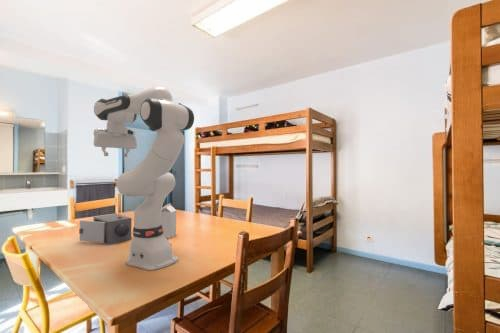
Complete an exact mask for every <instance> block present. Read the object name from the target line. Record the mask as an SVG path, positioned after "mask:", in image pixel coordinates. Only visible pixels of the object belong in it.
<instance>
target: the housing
mask: <svg viewBox="0 0 500 333" xmlns="http://www.w3.org/2000/svg"><path fill="white" fill-rule="evenodd" d="M132 220H133V219H132V217H129V216H125V215H122V214H120V213H119V214H118V213H112V214H111V213H110V214H102V215H97V216H95V215H94V216H93V221H96V222H106V243H104V244H105V245H108V246H109V245H113V244H118V243H121V242H125V241H130V240H131V241H132Z"/></svg>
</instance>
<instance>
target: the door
mask: <svg viewBox="0 0 500 333" xmlns="http://www.w3.org/2000/svg"><path fill="white" fill-rule="evenodd" d="M78 230H79V232H78V234H79V241H81V242H89V243H90V242H91V243H103V244H105V243H106V222H96V221H94V220H79V229H78Z"/></svg>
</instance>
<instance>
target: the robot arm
mask: <svg viewBox="0 0 500 333" xmlns="http://www.w3.org/2000/svg"><path fill="white" fill-rule="evenodd" d="M93 113H94V115H95V116H96V117H97V119H98V120H100V121H106V129H105V128H96V129H94V131H93V146H94V147H97V148H101V151H102V153H103V156H104V157H109V152H107V150H106V149H107V148H111V149H112V148H113V149H125V153H122V154H123V158H128V154H129V153H130V151H131V150H134V149H136V148H137V146H138V145H137V143H138V142H137V138H136V136H135V135H136V132H135V131H134V130H132V129H130V128H128V127H126V125H127V124H132V123H134V122H135V121H136V120H137V115H139V116H140V118H141V120H142V121H143V123H144V124H145V125H146V126H147V127H148V129H149V131H151V132H156V133H157V134H156V137H155V140H154V141H153V142H152V143H153V144H151V145H152V146H151V147H150V149H149V151H148V153H147V154H146V156H145V158H144V159H143V160H141V162H140V163H139V164H137V165H136V166H135V167H133V168H131V169H130V170H128V171H125V172H122V173H121V174H120V175H119V176H118V177H117V181H116V189H117V191H118V192H119V194H120V195H121V196H125V197H134V198H136V197H145V196H146V197H145V199H144V201H143V202H142V203H140V204H139V205H137V206H136V207H135V210H134V213H133V214H134V215H133V216H134V217H133V218H134V220H133V221H134V223H133V224H134V225H133V227H132V237H133V238H131V241H130V242H129V252H128V259H126V260H125V264H126V265H129V266H132V267H136V268H138V269H139V268H140V269H143V270H146V271H155V270H159V269H162V268H166V267H168V266H171V265H173V264H175V263H177V262H178V261H179V257H178V256H176V255H175V254H174V253H173V244H172V242H169V241H168V238H165V237H164V235H163V230H164V229H163V228H162V225H161V211H162V209H163V207H164V206H163V205H164V203H165V200H166V198H167V197H168V195H169V194H170V193H171V192H172V191H173V190H174V189H175V187H176V178H175V175H174V174H172V172H170V171H171V170H172V168H173V166H174V164H175V163H176V161H177V159H178V157H179V156H180V153H181V151H182V149H183V145H184V144H185V136H184V133H183V132H182V131H188V130H190V129H192V127H193V125H194V122H195V114H194V112H193V110H192V109H191V108H190V107H188V106H186V105H184V104H182V103H180V102H179V103H176V102H174V101H173V96H172V94H171V92H170V91H169V90H168V89H167V88H165V87H163V86H156V87H155V86H154V87H151V88H148V89H144V90H142V91H139V92H135V93H131V94H125V95H119V96H115V97H112V98H109V99H105V98H101V99H99V100H97V101H96V102H95V103H94V107H93Z"/></svg>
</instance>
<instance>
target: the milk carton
mask: <svg viewBox="0 0 500 333" xmlns="http://www.w3.org/2000/svg"><path fill="white" fill-rule="evenodd" d="M161 225H162V228H163V229H164V230H163V235H164V237H165V238H166V239H172V238H174V237H175V236H176V235H177V209H175V207H174V206H172V203H168V204H165V205H164V206H162V211H161Z"/></svg>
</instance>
